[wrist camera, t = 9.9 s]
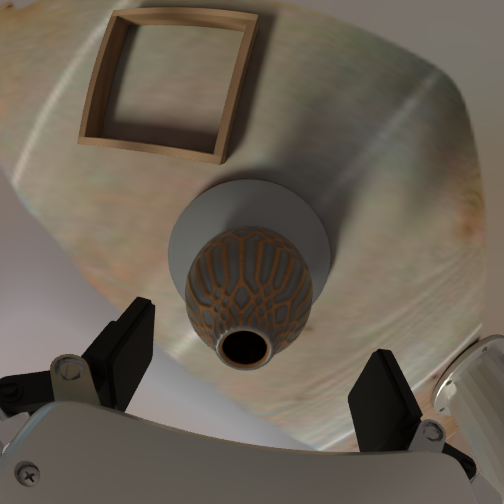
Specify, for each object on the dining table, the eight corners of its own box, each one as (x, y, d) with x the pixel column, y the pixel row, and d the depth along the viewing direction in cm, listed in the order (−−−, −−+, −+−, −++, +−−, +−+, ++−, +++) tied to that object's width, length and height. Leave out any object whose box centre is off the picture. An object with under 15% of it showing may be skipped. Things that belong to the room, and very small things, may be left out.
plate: (345, 201, 19) (351, 204, 18) (301, 334, 23) (302, 343, 21) (186, 163, 18) (181, 164, 17) (165, 305, 22) (161, 313, 21)
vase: (299, 209, 18) (333, 261, 10) (304, 305, 20) (327, 397, 12) (191, 220, 18) (140, 278, 10) (208, 313, 21) (183, 404, 12)
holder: (258, 28, 15) (258, 14, 13) (224, 163, 18) (219, 164, 16) (125, 20, 14) (113, 10, 12) (93, 143, 18) (77, 143, 16)
